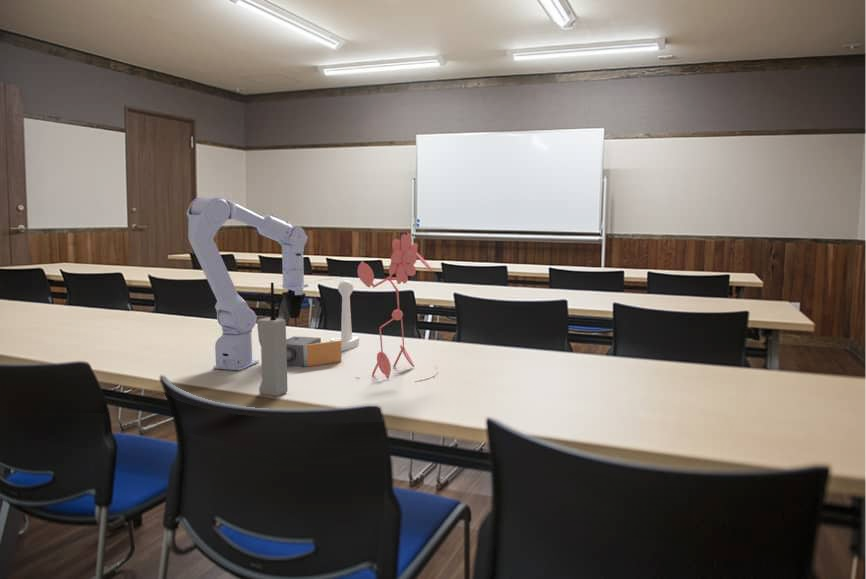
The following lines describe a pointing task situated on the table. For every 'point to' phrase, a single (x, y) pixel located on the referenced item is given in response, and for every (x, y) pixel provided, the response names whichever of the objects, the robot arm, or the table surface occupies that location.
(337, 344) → the side door
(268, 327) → the vintage mobile phone
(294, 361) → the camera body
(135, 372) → the table surface
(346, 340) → the joystick
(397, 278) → the figurine
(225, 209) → the robot arm
